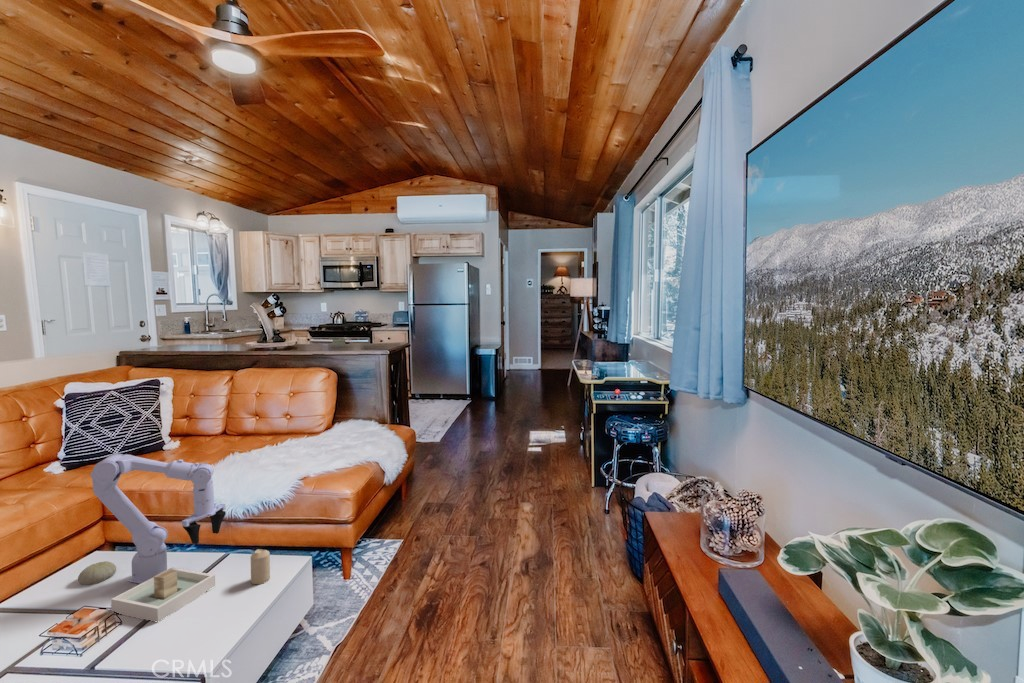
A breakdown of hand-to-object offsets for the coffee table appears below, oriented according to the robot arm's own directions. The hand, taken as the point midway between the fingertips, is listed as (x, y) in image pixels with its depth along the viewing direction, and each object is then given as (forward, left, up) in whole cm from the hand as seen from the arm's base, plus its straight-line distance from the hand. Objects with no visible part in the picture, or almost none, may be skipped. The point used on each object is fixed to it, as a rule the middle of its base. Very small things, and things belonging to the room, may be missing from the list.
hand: (205, 538), depth 154 cm
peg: (+5, -18, -11) cm, 21 cm away
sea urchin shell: (-29, -15, -11) cm, 34 cm away
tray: (+5, -18, -11) cm, 21 cm away
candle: (+25, -2, -11) cm, 27 cm away
